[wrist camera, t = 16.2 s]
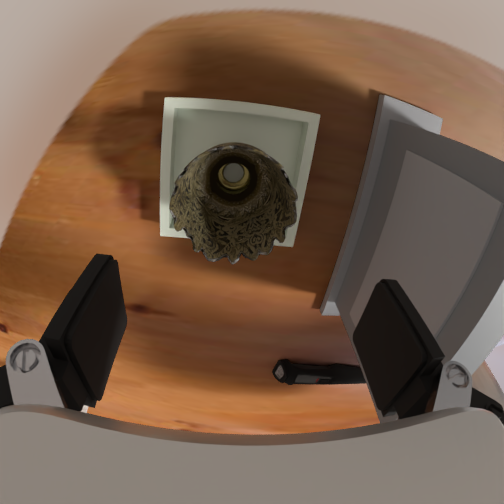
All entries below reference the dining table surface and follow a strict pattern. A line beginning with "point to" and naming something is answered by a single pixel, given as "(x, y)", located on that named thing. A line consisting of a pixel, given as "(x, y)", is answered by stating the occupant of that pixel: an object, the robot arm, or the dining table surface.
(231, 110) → the parts tray
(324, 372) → the electric trimmer
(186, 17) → the dining table surface
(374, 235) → the grey sign holder
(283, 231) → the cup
